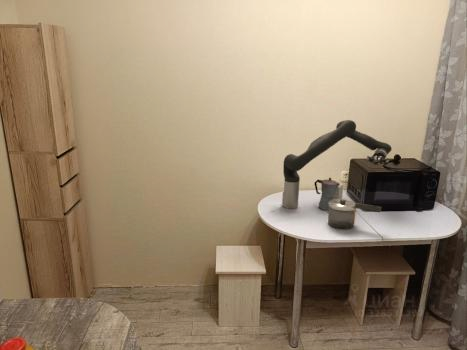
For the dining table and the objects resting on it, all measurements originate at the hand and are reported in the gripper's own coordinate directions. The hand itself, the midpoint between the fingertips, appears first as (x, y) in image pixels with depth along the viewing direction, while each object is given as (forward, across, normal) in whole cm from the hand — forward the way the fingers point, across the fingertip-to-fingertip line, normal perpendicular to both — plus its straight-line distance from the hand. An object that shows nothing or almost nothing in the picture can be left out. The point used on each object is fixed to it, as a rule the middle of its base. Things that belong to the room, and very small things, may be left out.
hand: (375, 163), depth 216 cm
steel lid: (+23, -6, +21) cm, 32 cm away
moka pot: (+3, -26, +32) cm, 41 cm away
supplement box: (-9, -23, +32) cm, 41 cm away
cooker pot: (+23, -12, +32) cm, 41 cm away
